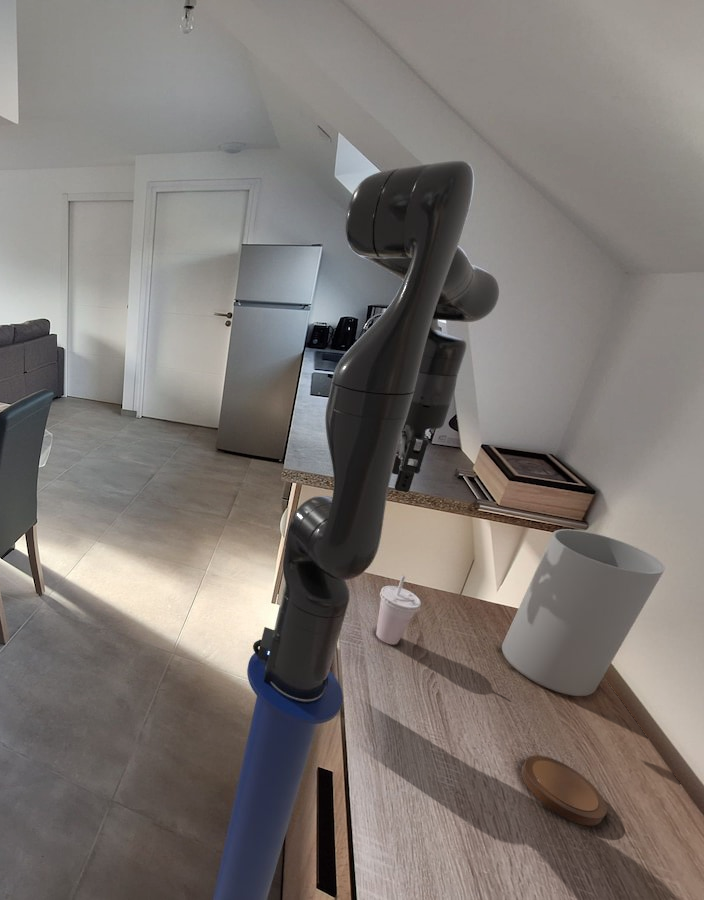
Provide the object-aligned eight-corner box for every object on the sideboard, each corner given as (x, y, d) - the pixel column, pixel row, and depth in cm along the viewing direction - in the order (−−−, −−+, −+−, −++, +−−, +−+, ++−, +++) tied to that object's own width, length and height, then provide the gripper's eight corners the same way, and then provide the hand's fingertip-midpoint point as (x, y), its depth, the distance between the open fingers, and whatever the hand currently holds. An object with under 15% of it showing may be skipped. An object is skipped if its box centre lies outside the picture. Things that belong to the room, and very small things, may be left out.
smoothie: (367, 621, 91) (385, 562, 86) (404, 632, 88) (425, 572, 83) (369, 642, 85) (388, 581, 80) (408, 654, 83) (431, 592, 78)
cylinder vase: (492, 633, 89) (541, 522, 80) (576, 658, 84) (638, 542, 75) (511, 679, 78) (569, 557, 70) (608, 711, 73) (685, 583, 64)
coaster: (531, 805, 59) (536, 797, 59) (513, 752, 66) (517, 745, 65) (614, 838, 56) (620, 830, 55) (586, 779, 63) (591, 772, 62)
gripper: (396, 387, 86) (374, 465, 92) (403, 402, 74) (377, 491, 80) (443, 392, 83) (418, 473, 89) (458, 410, 71) (428, 502, 77)
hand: (399, 482), depth 84 cm, fingers open, 8 cm apart
